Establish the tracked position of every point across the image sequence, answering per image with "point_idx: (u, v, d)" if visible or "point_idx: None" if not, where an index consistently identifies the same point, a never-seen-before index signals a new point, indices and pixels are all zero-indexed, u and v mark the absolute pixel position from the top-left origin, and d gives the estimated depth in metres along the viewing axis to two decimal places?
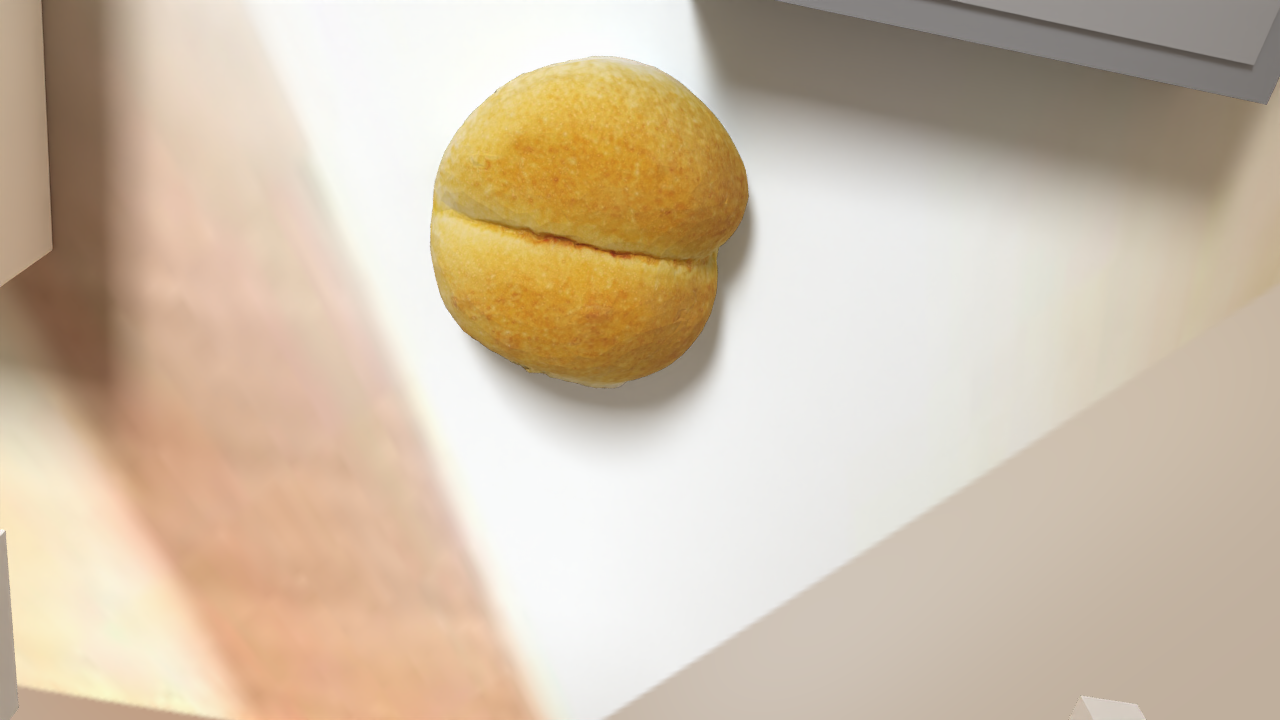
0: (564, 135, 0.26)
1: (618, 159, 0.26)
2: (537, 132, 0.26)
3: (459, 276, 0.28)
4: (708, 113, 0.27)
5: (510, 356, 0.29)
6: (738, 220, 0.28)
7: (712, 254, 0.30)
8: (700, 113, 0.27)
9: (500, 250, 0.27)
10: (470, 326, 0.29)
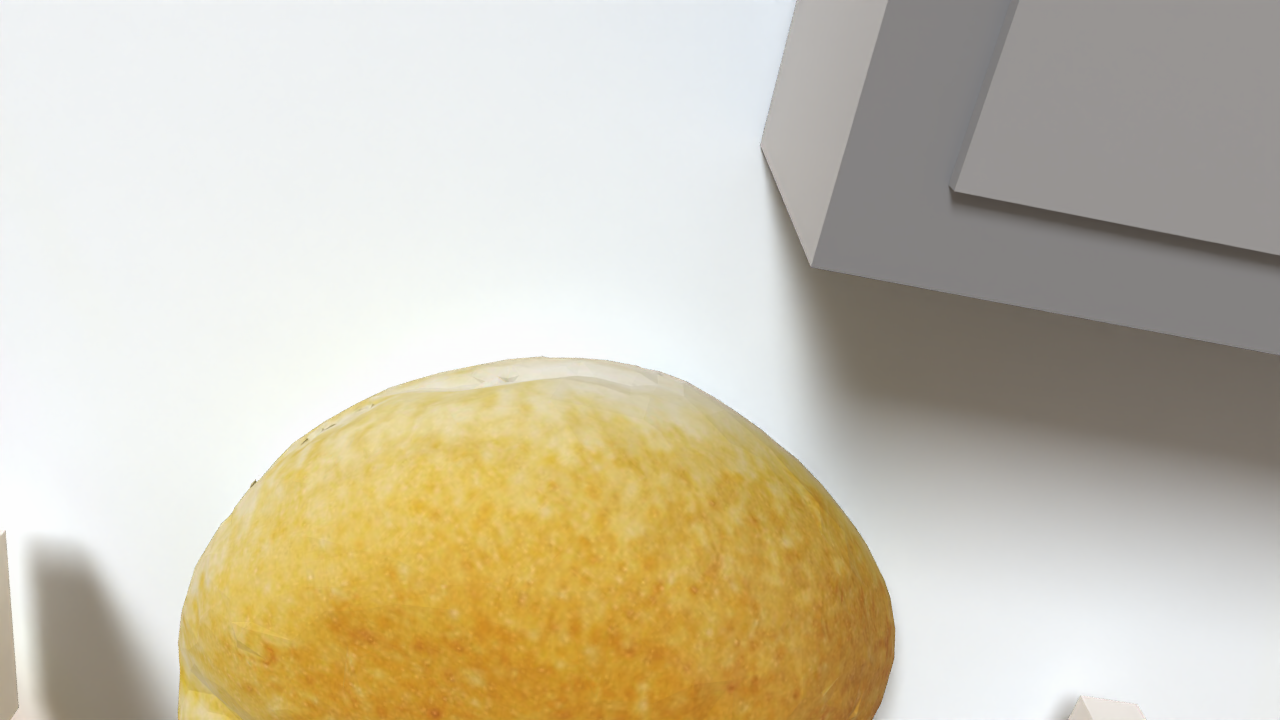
0: (452, 616, 0.10)
1: (594, 678, 0.10)
2: (384, 601, 0.10)
3: None
4: (814, 503, 0.11)
5: None
6: None
7: None
8: (797, 513, 0.11)
9: None
10: None
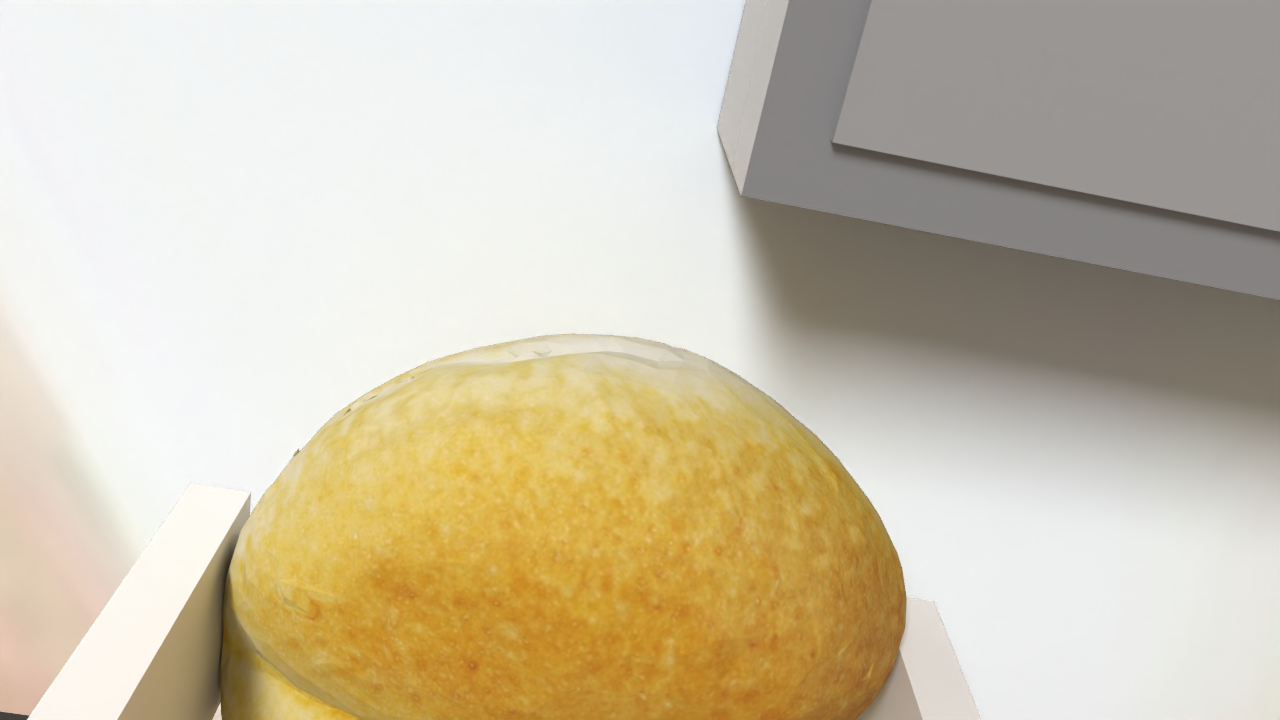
0: (490, 572, 0.10)
1: (623, 632, 0.10)
2: (426, 558, 0.11)
3: None
4: (831, 474, 0.12)
5: None
6: (886, 679, 0.13)
7: None
8: (815, 482, 0.12)
9: None
10: None
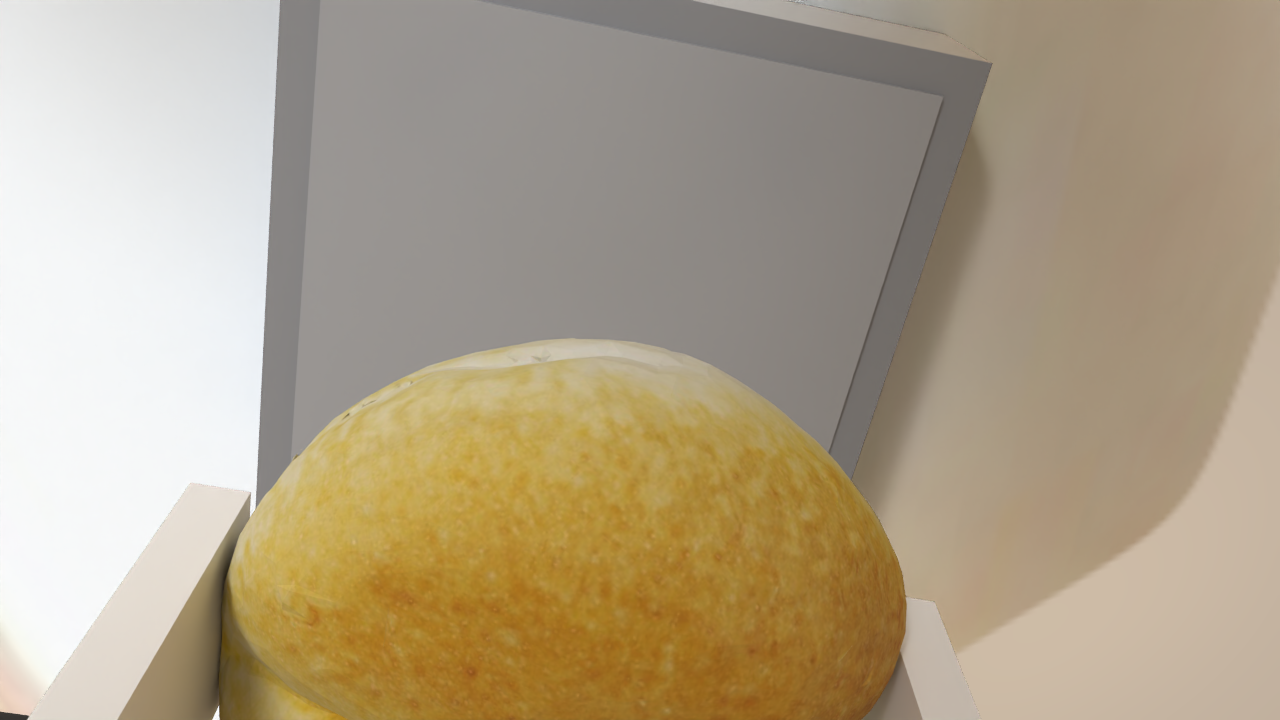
0: (488, 578, 0.10)
1: (623, 638, 0.10)
2: (424, 565, 0.11)
3: None
4: (831, 479, 0.12)
5: None
6: (886, 684, 0.13)
7: None
8: (815, 488, 0.12)
9: None
10: None
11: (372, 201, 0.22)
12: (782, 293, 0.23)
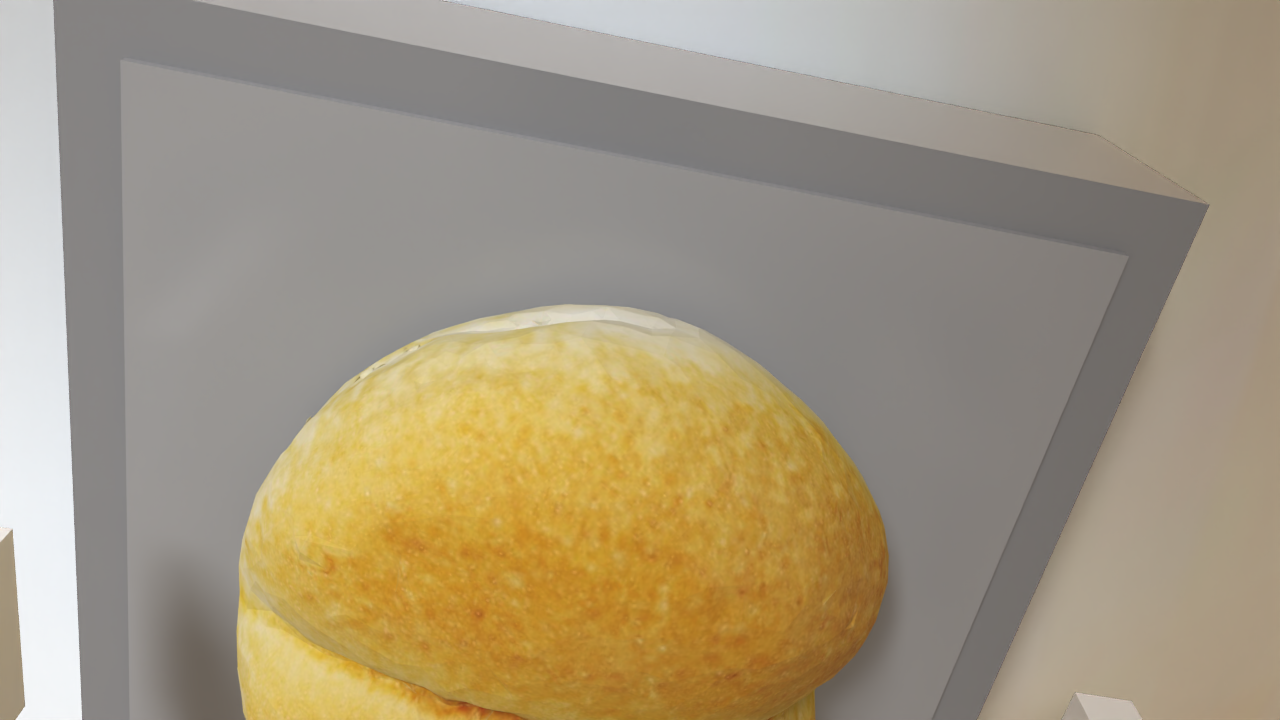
0: (494, 524, 0.11)
1: (620, 579, 0.11)
2: (434, 512, 0.11)
3: None
4: (816, 434, 0.13)
5: None
6: (869, 631, 0.14)
7: None
8: (800, 442, 0.12)
9: None
10: None
11: (227, 409, 0.14)
12: None
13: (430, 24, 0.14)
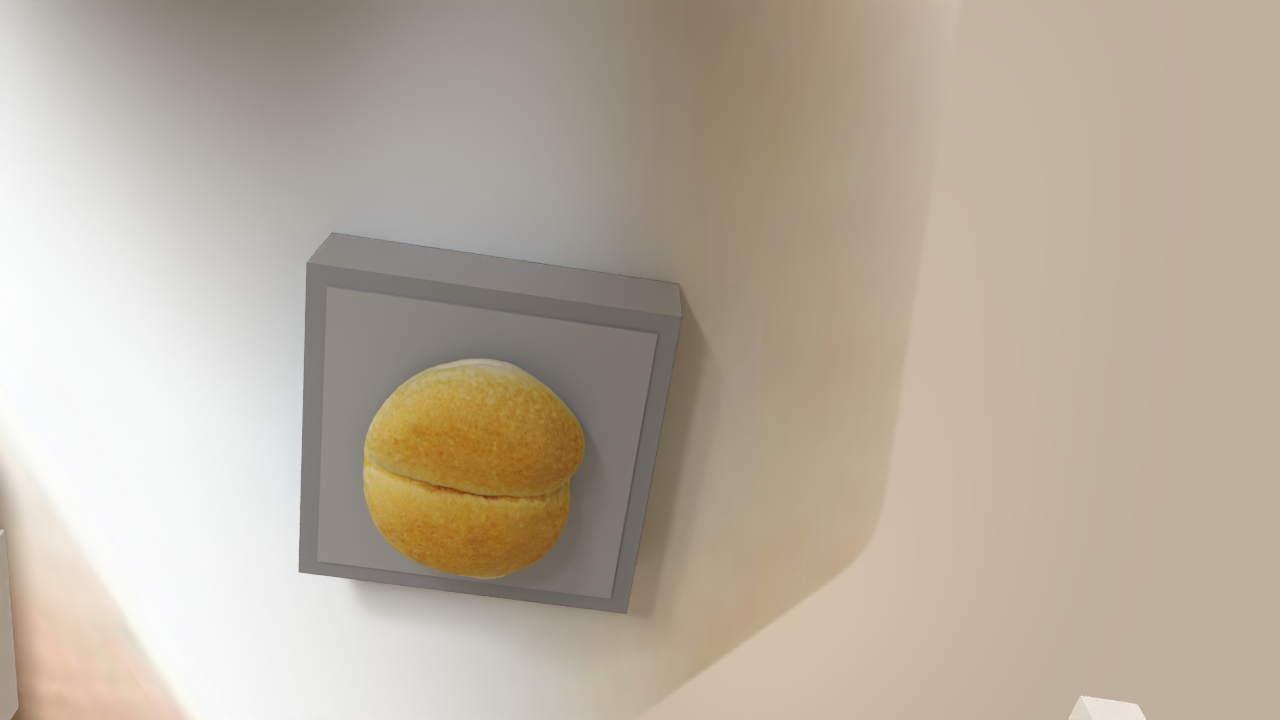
0: (444, 425, 0.38)
1: (481, 440, 0.38)
2: (427, 422, 0.38)
3: (381, 512, 0.40)
4: (548, 397, 0.39)
5: None
6: (576, 465, 0.40)
7: (564, 483, 0.42)
8: (541, 399, 0.39)
9: (408, 496, 0.39)
10: (392, 544, 0.41)
11: (358, 397, 0.41)
12: (585, 437, 0.42)
13: (423, 265, 0.41)
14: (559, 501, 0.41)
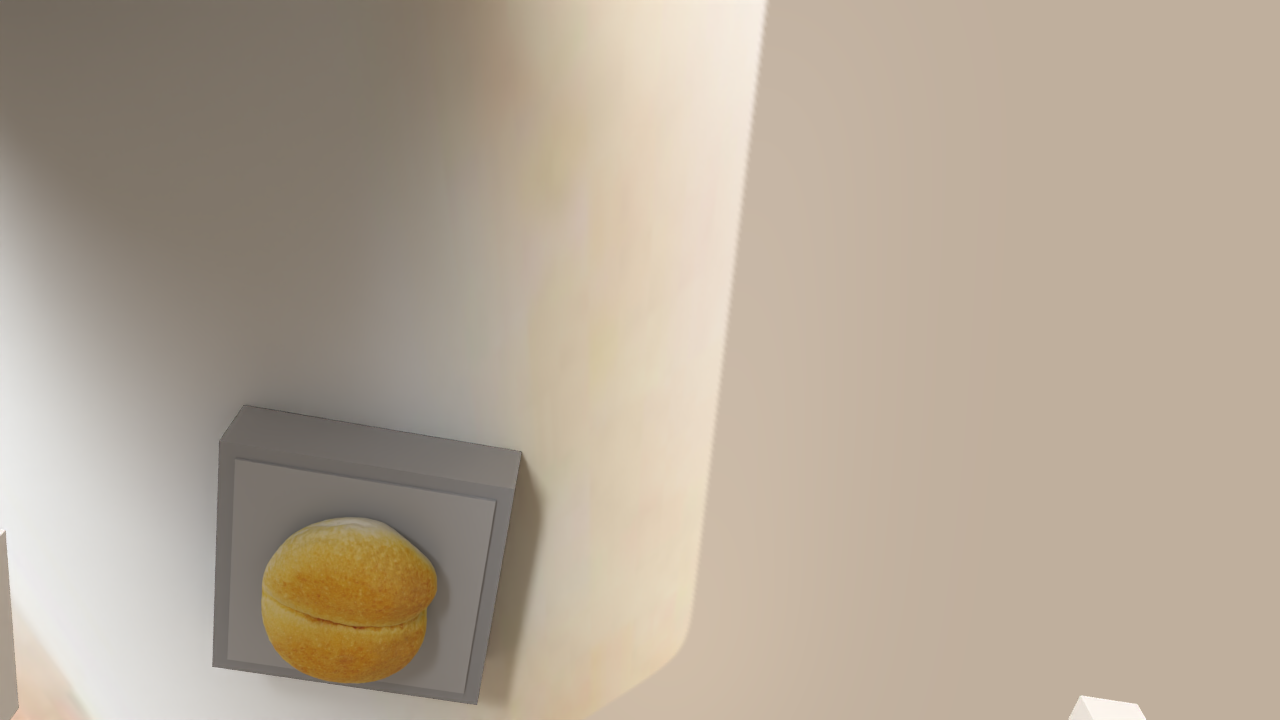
0: (321, 575, 0.49)
1: (350, 587, 0.49)
2: (308, 572, 0.49)
3: (274, 634, 0.51)
4: (406, 551, 0.50)
5: (304, 673, 0.52)
6: (428, 601, 0.51)
7: (421, 611, 0.53)
8: (400, 554, 0.50)
9: (294, 624, 0.51)
10: (282, 657, 0.52)
11: (259, 539, 0.52)
12: (441, 574, 0.53)
13: (314, 439, 0.51)
14: (416, 626, 0.52)
